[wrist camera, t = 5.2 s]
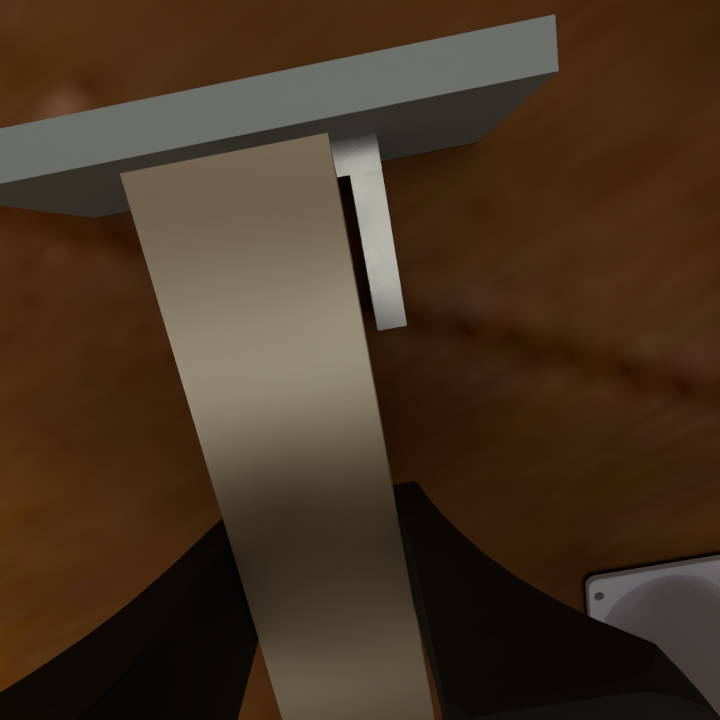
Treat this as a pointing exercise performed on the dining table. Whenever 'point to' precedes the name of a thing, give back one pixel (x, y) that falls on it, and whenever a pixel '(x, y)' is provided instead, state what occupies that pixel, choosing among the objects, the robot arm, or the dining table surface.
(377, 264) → the bracket
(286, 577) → the rail
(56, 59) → the dining table surface
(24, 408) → the dining table surface
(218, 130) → the backboard
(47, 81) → the dining table surface
